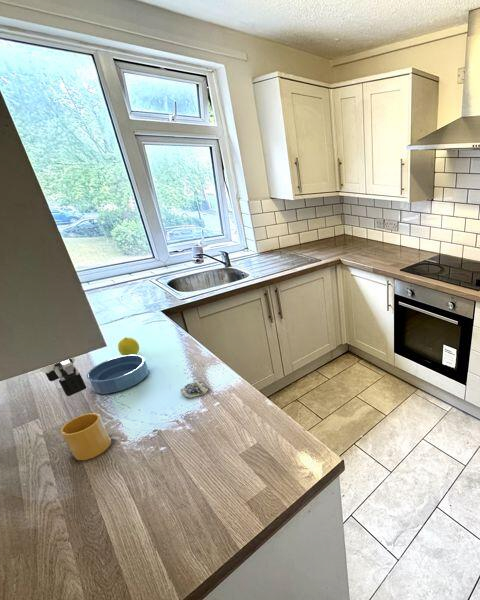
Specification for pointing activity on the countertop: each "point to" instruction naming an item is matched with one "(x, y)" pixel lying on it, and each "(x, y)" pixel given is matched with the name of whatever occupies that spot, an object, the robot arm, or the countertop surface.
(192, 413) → the countertop surface
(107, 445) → the cup
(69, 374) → the robot arm
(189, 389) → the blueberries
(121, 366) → the bowl
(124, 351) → the lemon
